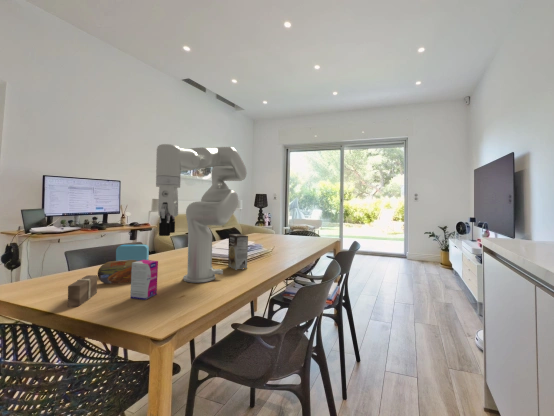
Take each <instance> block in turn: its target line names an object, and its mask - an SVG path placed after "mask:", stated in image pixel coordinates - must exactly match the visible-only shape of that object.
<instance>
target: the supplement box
mask: <svg viewBox="0 0 554 416" xmlns="http://www.w3.org/2000/svg"><path fill="white" fill-rule="evenodd" d="M158 269H159V261H158V260H141V261H137V262H133V263H132V274H131V282H130V296H129V298H130V299H133V300H134V299H135V300H142V301H146V300H148V299H150V298H151V297H154V296H157V294H158V273H159V271H158Z"/></svg>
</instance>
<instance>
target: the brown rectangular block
mask: <svg viewBox="0 0 554 416" xmlns="http://www.w3.org/2000/svg"><path fill="white" fill-rule="evenodd" d="M97 292H98V274H97V275H96V274H92V275H91V274H90V275H86V276H83V277H82V278H79V279H77V281H74V282H73V283H70V284H69V285H68V286H67V307H69V308H70V307H72V308H73V307H81V306H82V305H83V304H85V303H86V302H87V301H89V300H90V299H91V298H93V297H94V296H95V295H97Z"/></svg>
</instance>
